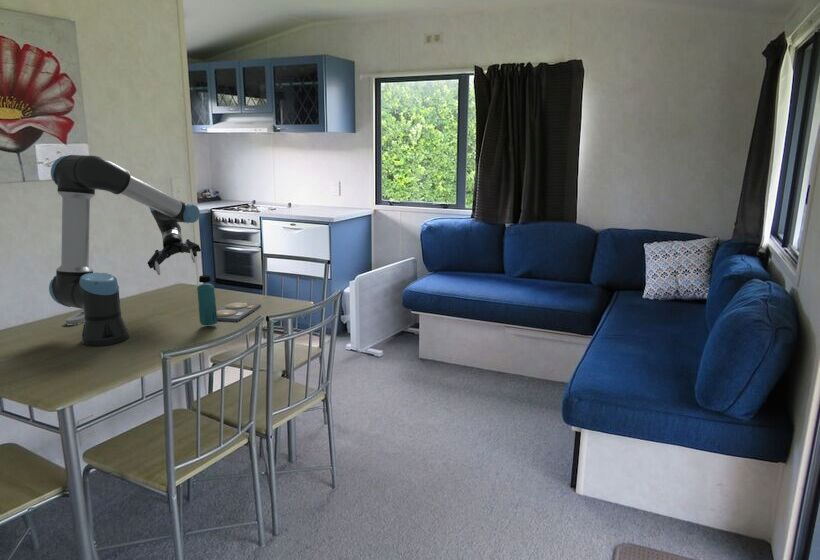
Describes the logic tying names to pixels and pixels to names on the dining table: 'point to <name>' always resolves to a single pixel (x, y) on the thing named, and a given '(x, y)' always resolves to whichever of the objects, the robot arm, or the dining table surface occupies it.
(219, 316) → the dark grey flat block
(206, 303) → the beverage bottle
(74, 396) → the dining table surface
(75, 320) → the electronic device
